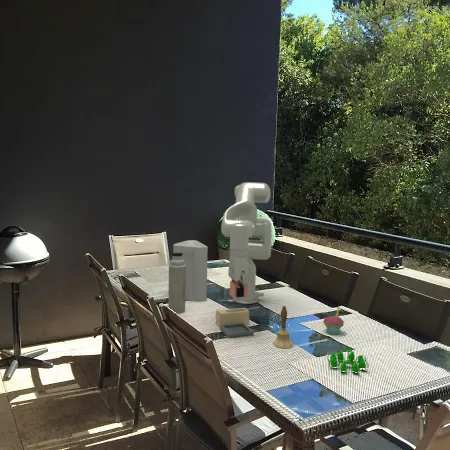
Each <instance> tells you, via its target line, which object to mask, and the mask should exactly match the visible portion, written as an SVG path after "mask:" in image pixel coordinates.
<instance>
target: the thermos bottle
mask: <svg viewBox="0 0 450 450" xmlns="http://www.w3.org/2000/svg"><path fill="white" fill-rule="evenodd" d="M182 255H183V254H182V253H173V252H172V253H171V256H172V257H171V259H170V260H169V264H168V302H167V303H168V306H167V307H169V308H170V309H172V310H173V311H174V312H176V313H178V314H183V313H185V312H186V300H185V286H186V265H185V264H184V263H185V262H184V260H183V256H182ZM176 313H175V314H176Z"/></svg>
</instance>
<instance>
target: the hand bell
mask: <svg viewBox="0 0 450 450" xmlns="http://www.w3.org/2000/svg"><path fill="white" fill-rule="evenodd" d="M280 319H281V328H280V329H281V330H278V331H277V337H276V338H275V340H273V341H272V345H273V347H275V348H278V349H284V350H286V349H291V348H293V347H294V343H293V342H292V340H291V338H290V332H289V331H288V330H287V329H286V328H287V326H286V325H287V323H286V321H287V319H288V309H287V306H286V305H283V306H282V307H281V311H280Z"/></svg>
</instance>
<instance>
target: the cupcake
mask: <svg viewBox="0 0 450 450" xmlns="http://www.w3.org/2000/svg"><path fill="white" fill-rule="evenodd" d="M339 311H340V305H339V306H338V307H337V310H336V314H335V315H328V316H326V317H325V318H324V319H323V321H322V322H323V325H324V326H325V327H326V331H327V333H328V334H330V333H331V335H338V334H339V332H340V330H341V329H342V327H343V326H344V324H345V323H344V320H343V318H341V317H339ZM337 333H338V334H337Z"/></svg>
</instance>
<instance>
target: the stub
mask: <svg viewBox="0 0 450 450" xmlns="http://www.w3.org/2000/svg"><path fill="white" fill-rule="evenodd" d="M240 283H241V282H239V284H240ZM237 288H238V287H237V281H232V280H230V282H229V296H231V297H232V299H233V298H244V297H247V294H248V283H247V282H246V284H245V287H244V297H236V291H237Z"/></svg>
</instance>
